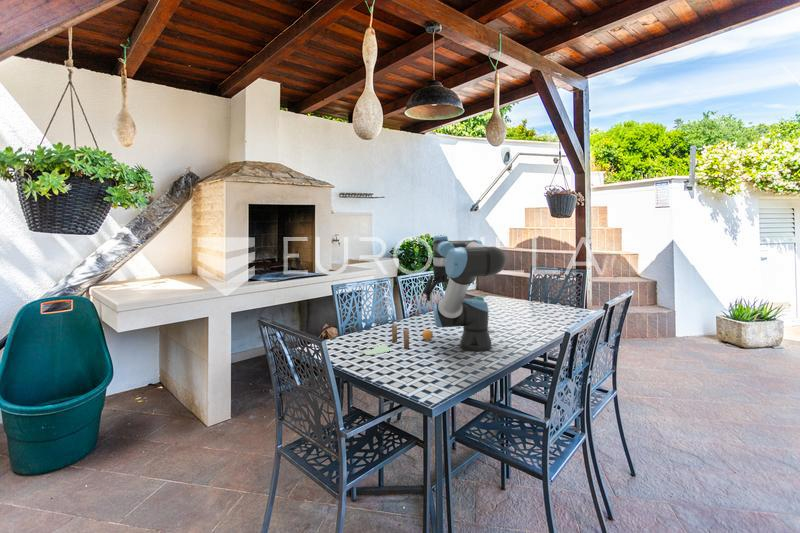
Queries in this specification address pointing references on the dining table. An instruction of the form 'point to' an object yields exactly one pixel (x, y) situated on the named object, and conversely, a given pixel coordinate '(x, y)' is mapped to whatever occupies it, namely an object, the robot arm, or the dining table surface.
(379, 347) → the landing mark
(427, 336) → the ball
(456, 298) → the robot arm
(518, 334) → the dining table surface
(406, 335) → the post
